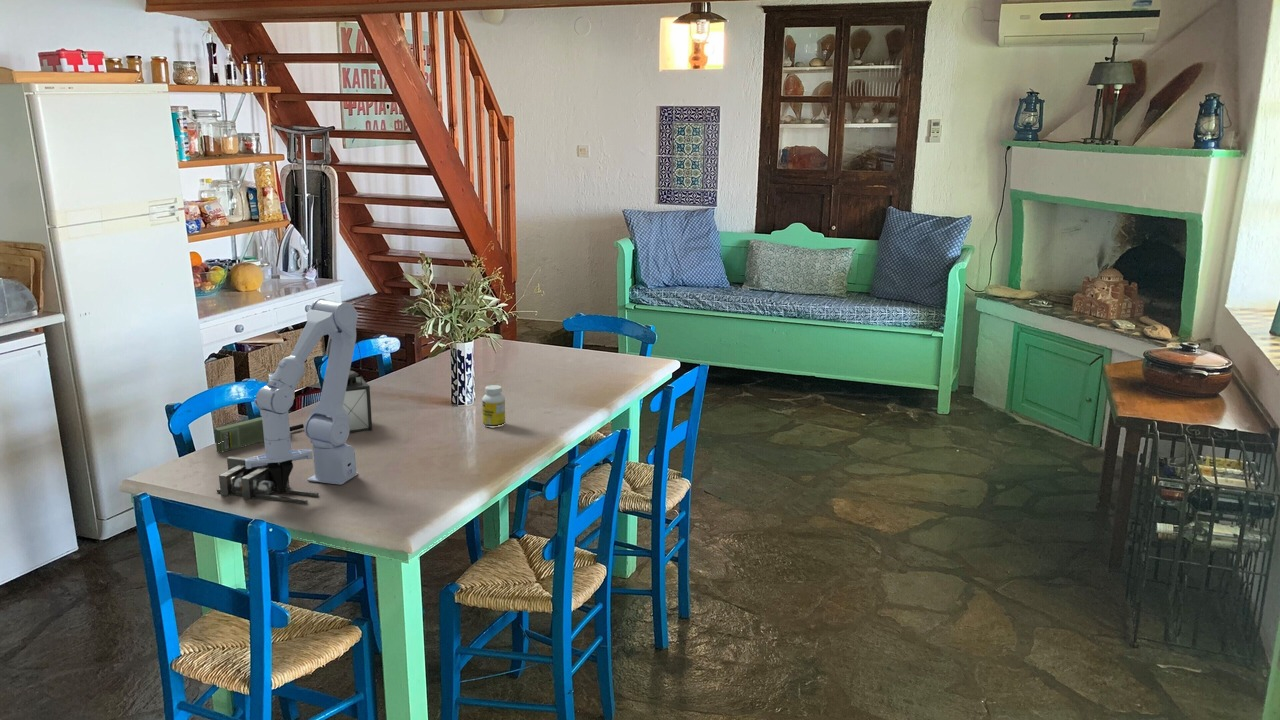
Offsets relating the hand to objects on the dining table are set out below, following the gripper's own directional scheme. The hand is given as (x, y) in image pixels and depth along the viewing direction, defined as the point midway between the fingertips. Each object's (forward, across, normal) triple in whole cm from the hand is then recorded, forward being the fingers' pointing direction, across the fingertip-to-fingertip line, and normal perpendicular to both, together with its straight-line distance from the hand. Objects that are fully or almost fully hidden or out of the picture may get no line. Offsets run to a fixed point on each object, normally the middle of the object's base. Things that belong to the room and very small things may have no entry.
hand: (282, 491), depth 221 cm
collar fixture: (+1, +3, -4) cm, 5 cm away
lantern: (+2, -26, -45) cm, 52 cm away
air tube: (+1, +6, -7) cm, 10 cm away
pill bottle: (+2, -63, -28) cm, 69 cm away
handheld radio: (+2, -2, -44) cm, 45 cm away
